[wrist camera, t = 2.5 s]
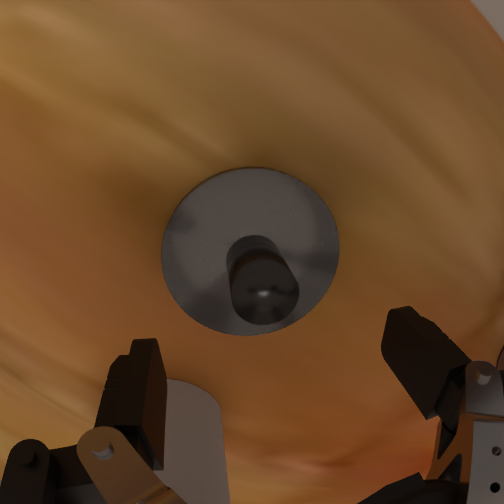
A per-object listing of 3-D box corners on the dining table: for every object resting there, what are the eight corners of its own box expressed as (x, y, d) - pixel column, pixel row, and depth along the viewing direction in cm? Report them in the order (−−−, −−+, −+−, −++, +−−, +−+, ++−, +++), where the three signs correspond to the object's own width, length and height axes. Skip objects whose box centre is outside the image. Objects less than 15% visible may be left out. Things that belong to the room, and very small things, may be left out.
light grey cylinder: (100, 396, 21) (69, 529, 10) (185, 364, 21) (185, 527, 10) (159, 448, 24) (156, 564, 13) (238, 425, 24) (259, 554, 13)
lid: (334, 163, 17) (378, 178, 13) (326, 315, 21) (356, 363, 16) (154, 174, 16) (132, 192, 12) (177, 331, 20) (171, 387, 15)
